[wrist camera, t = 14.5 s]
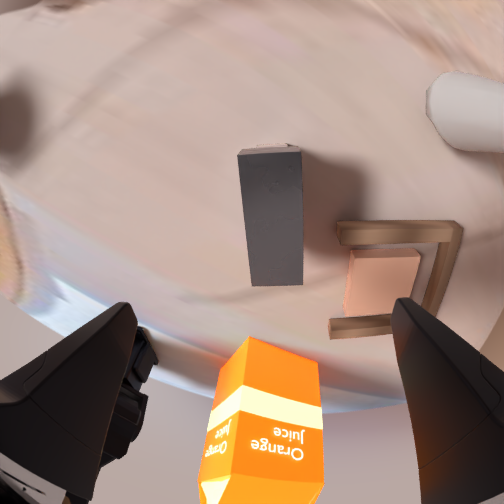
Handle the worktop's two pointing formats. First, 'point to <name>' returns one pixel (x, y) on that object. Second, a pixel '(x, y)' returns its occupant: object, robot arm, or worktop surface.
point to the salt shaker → (467, 111)
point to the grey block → (273, 213)
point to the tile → (379, 280)
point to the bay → (393, 234)
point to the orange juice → (264, 430)
